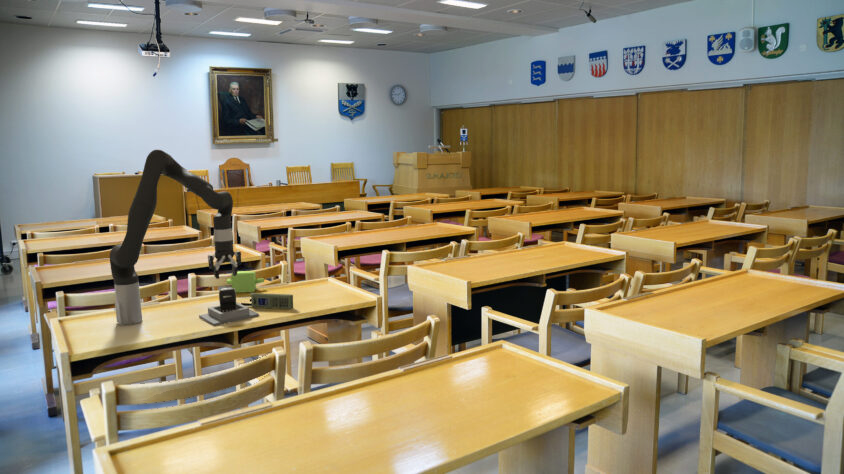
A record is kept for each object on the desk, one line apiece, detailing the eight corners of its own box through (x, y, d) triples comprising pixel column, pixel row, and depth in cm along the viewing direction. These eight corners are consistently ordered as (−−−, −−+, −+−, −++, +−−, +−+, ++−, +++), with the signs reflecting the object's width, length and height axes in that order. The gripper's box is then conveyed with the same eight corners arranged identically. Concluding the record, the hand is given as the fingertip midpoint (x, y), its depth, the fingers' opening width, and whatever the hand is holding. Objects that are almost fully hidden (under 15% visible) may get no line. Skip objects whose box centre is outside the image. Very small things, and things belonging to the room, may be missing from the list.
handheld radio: (291, 310, 280) (239, 308, 284) (294, 308, 283) (242, 306, 288) (290, 295, 279) (238, 293, 283) (293, 294, 282) (242, 292, 287)
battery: (220, 316, 268) (218, 290, 266) (220, 313, 272) (218, 288, 270) (237, 314, 270) (235, 289, 268) (237, 312, 273) (235, 287, 271)
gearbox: (265, 287, 320) (265, 269, 319) (263, 292, 311) (262, 273, 310) (229, 288, 318) (228, 270, 317) (225, 292, 308) (225, 274, 307)
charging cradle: (214, 326, 258) (213, 316, 258) (199, 317, 270) (198, 308, 269) (258, 315, 271) (258, 307, 271) (242, 308, 283) (241, 299, 282)
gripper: (210, 242, 257) (213, 281, 260) (243, 238, 266) (245, 275, 269) (203, 240, 263) (206, 278, 266) (235, 235, 272) (238, 272, 275)
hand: (226, 276), depth 267 cm, fingers open, 7 cm apart
